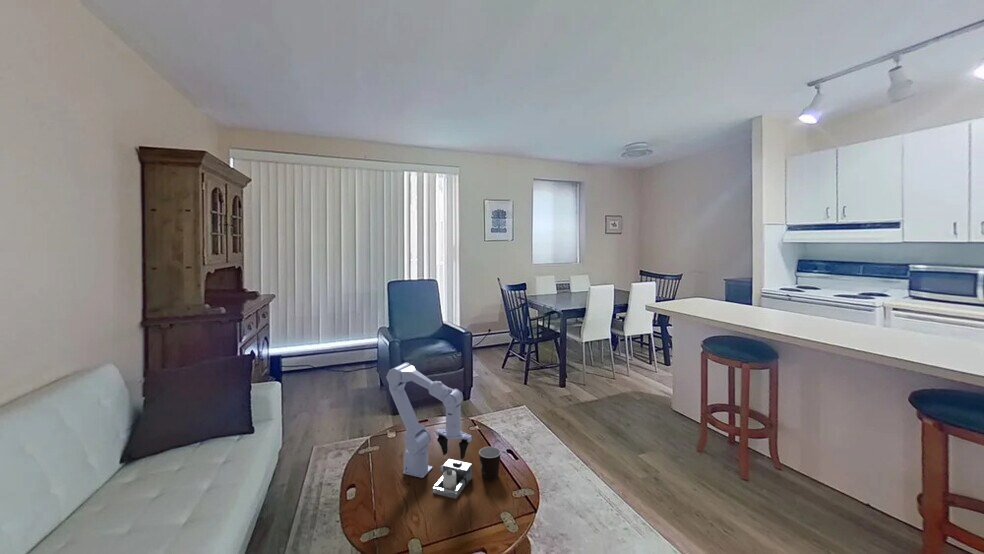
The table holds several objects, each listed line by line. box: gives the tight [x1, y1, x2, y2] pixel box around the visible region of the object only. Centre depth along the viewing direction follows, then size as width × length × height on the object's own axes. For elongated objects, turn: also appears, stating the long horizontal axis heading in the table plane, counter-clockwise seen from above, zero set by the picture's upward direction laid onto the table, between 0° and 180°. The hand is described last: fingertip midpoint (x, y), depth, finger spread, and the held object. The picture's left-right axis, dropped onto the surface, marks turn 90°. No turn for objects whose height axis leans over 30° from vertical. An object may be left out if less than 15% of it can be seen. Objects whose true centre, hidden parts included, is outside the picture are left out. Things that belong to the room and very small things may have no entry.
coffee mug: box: [478, 446, 502, 482], centre depth 156 cm, size 12×9×10 cm
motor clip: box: [432, 458, 473, 500], centre depth 149 cm, size 12×14×7 cm
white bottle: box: [442, 469, 457, 491], centre depth 147 cm, size 5×5×7 cm
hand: (453, 455), depth 152 cm, fingers open, 7 cm apart
